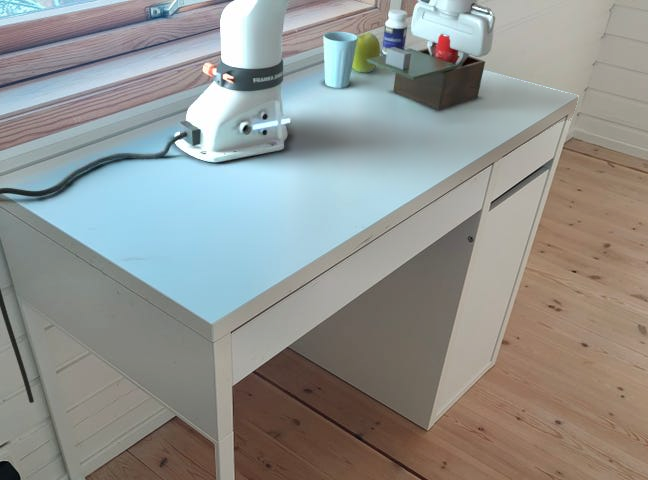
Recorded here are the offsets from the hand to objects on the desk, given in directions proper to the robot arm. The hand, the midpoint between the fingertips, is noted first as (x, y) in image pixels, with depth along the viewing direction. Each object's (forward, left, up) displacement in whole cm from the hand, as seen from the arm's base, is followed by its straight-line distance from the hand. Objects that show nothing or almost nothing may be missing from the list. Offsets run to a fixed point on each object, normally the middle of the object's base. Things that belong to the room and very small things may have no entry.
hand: (444, 66), depth 153 cm
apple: (-4, +22, -6) cm, 23 cm away
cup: (-16, +18, -6) cm, 25 cm away
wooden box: (-2, 0, -6) cm, 6 cm away
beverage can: (0, 0, -5) cm, 5 cm away
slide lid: (-12, 0, +3) cm, 12 cm away
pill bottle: (+12, +27, -6) cm, 30 cm away
